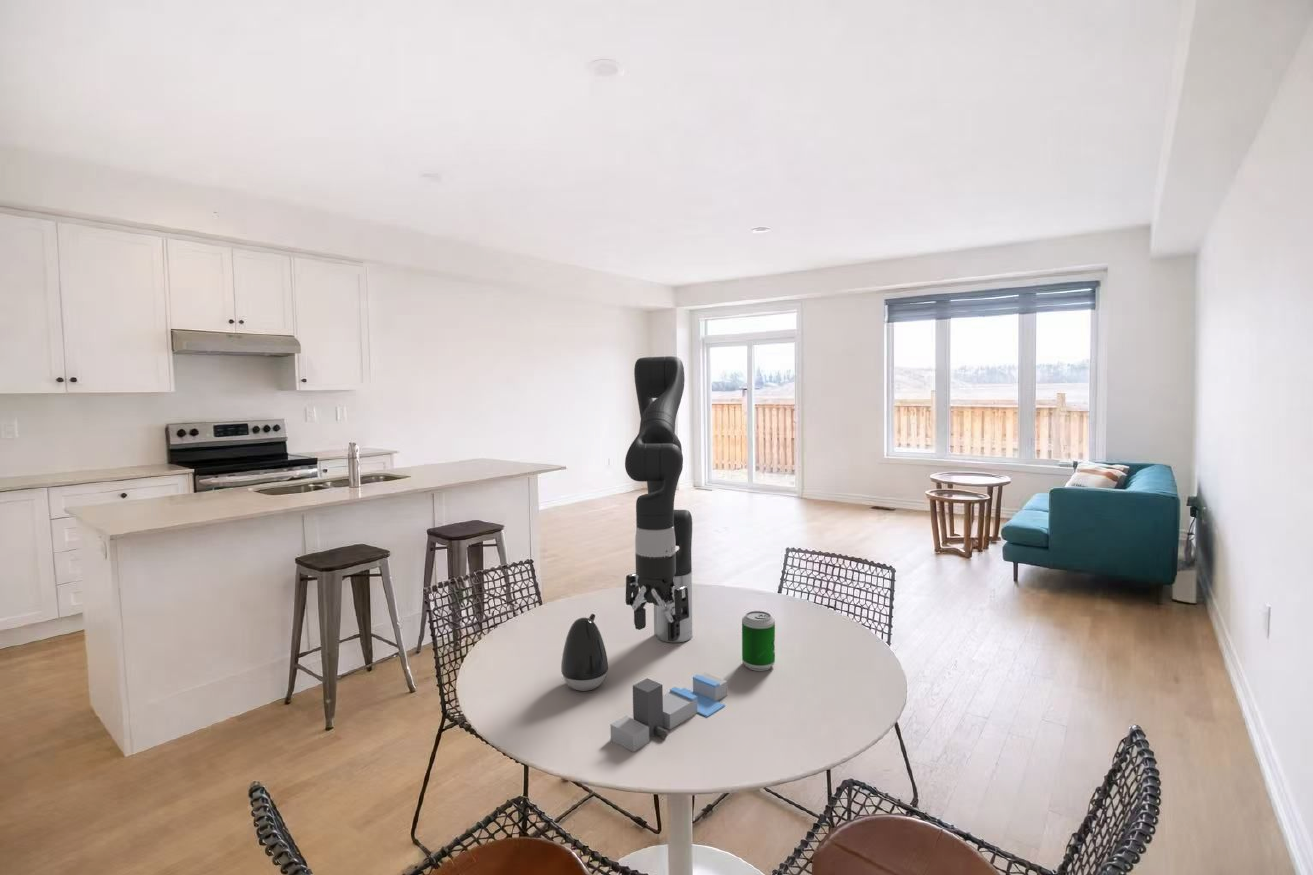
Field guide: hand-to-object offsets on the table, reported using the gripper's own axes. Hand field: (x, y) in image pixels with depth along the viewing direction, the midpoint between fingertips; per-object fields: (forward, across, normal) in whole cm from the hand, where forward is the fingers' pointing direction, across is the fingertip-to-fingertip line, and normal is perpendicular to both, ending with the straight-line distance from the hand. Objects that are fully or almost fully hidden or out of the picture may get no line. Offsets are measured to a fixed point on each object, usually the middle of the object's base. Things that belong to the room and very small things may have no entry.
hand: (656, 634), depth 122 cm
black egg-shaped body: (+19, -24, +2) cm, 31 cm away
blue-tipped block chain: (+19, -1, +6) cm, 20 cm away
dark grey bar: (+19, 0, -1) cm, 19 cm away
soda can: (+19, -2, +36) cm, 40 cm away
